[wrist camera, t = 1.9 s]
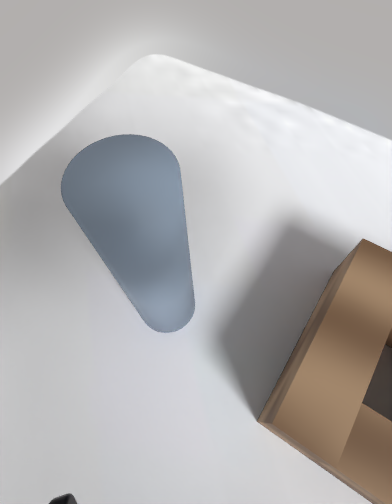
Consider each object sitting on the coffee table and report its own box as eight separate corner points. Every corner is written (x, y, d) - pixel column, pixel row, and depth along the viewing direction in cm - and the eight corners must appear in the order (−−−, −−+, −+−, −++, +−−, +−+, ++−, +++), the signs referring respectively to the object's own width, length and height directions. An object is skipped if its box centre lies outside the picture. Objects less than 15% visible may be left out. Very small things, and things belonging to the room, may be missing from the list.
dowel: (173, 343, 22) (129, 250, 9) (128, 312, 23) (35, 192, 10) (205, 297, 23) (203, 163, 11) (161, 270, 24) (114, 119, 12)
